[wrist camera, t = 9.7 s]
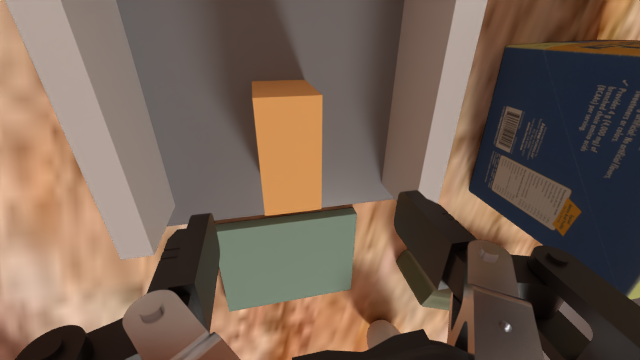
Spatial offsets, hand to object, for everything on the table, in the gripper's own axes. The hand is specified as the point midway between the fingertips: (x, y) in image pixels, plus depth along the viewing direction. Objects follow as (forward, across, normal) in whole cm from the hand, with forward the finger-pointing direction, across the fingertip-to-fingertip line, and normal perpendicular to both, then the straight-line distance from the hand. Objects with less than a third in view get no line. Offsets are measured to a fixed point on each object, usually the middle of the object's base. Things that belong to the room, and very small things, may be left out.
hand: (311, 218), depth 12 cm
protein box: (+14, -25, +1) cm, 29 cm away
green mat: (+13, 0, +15) cm, 20 cm away
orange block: (+13, 0, 0) cm, 13 cm away
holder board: (+13, 0, -2) cm, 14 cm away
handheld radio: (+14, -25, +23) cm, 36 cm away
